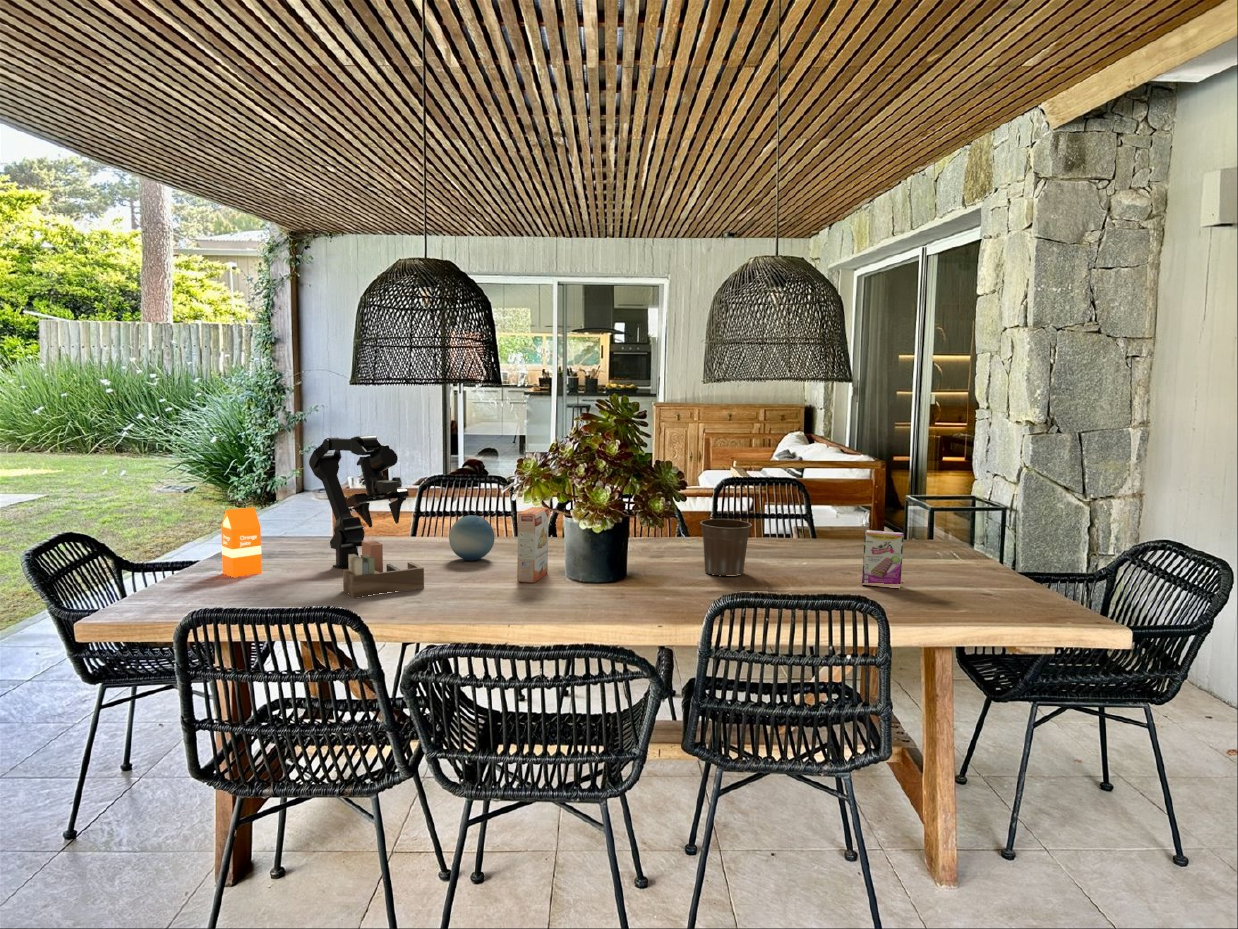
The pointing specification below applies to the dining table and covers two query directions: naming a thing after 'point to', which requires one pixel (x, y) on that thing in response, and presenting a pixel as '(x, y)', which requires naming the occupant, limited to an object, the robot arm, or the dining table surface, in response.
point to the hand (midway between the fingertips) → (384, 525)
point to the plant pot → (725, 545)
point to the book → (374, 552)
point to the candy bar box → (882, 557)
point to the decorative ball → (471, 537)
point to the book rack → (379, 577)
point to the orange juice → (241, 542)
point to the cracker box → (532, 544)
